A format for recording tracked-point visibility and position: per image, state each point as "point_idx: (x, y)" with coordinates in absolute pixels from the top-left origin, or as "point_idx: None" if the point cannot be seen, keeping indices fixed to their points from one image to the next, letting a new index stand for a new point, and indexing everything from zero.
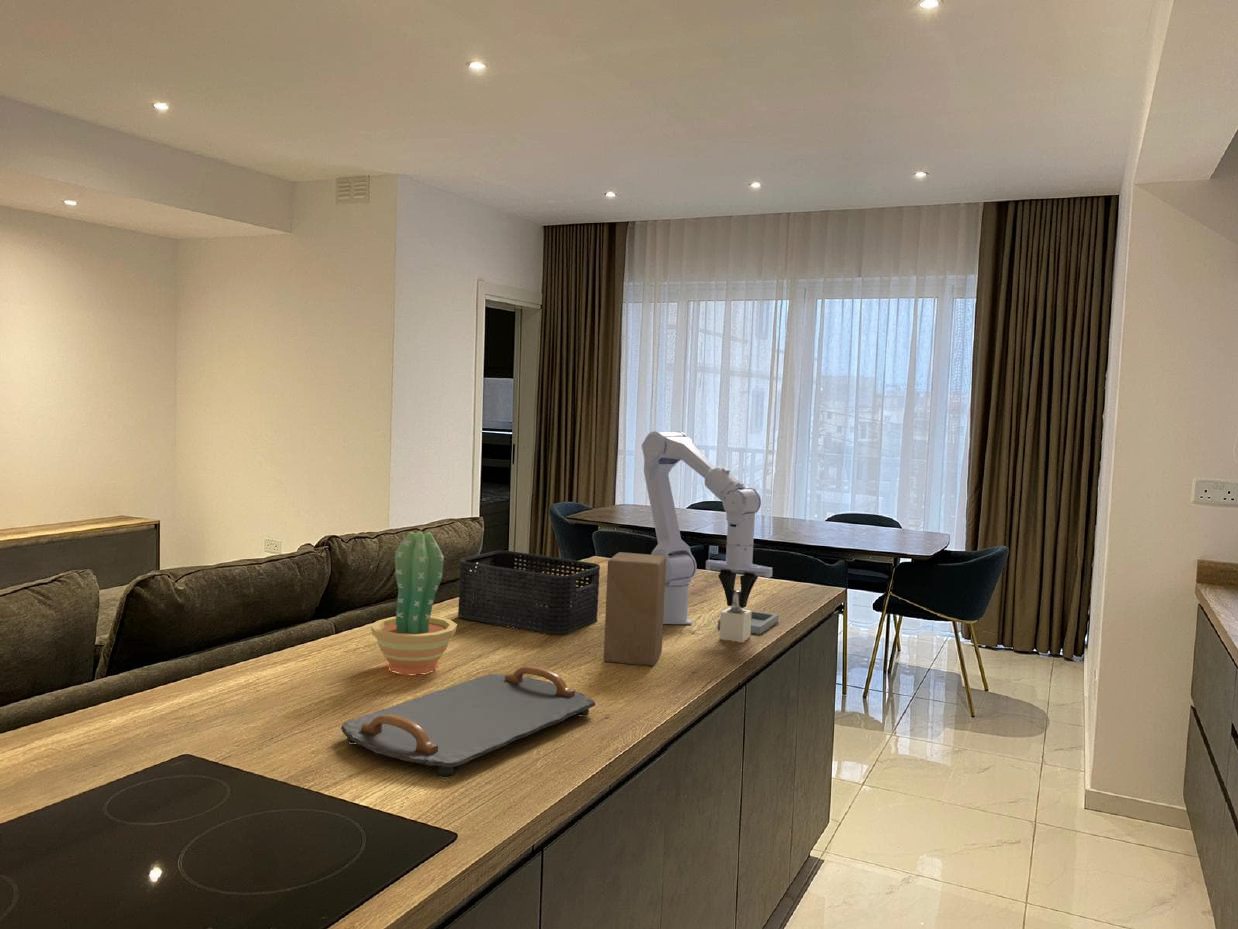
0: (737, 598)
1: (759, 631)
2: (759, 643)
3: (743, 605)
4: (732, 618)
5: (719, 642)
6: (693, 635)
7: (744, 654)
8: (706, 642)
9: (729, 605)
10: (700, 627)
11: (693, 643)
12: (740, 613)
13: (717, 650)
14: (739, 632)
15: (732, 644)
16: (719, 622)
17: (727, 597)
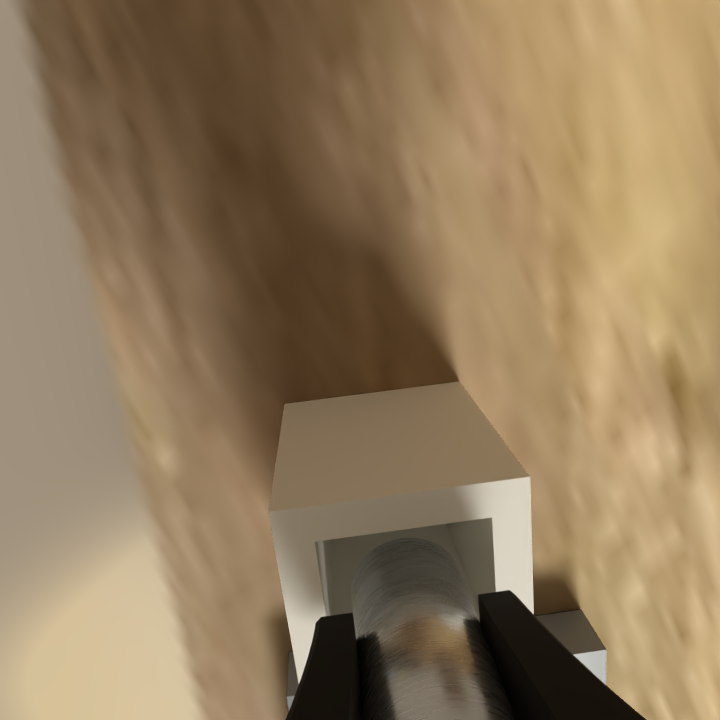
0: (404, 684)
1: (293, 668)
2: (183, 470)
3: (314, 638)
4: (388, 470)
5: (418, 294)
6: (651, 337)
7: (98, 101)
8: (497, 224)
9: (487, 598)
10: (682, 551)
11: (567, 122)
12: (353, 583)
13: (324, 57)
14: (309, 428)
15: (317, 311)
16: (588, 639)
17: (545, 650)
